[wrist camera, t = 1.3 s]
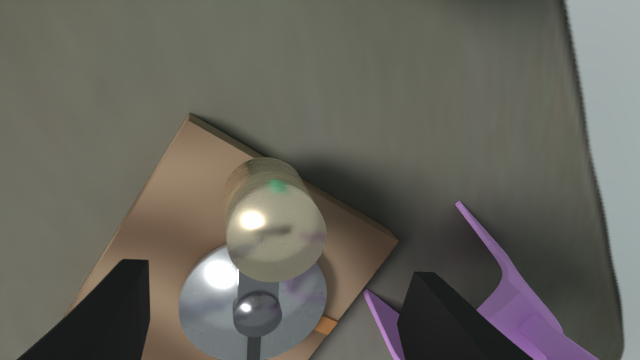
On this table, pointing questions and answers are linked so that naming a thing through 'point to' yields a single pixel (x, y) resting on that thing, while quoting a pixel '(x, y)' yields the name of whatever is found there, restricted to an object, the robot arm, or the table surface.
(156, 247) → the stand
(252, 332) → the crank dial
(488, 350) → the robot arm
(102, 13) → the table surface
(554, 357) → the chair
